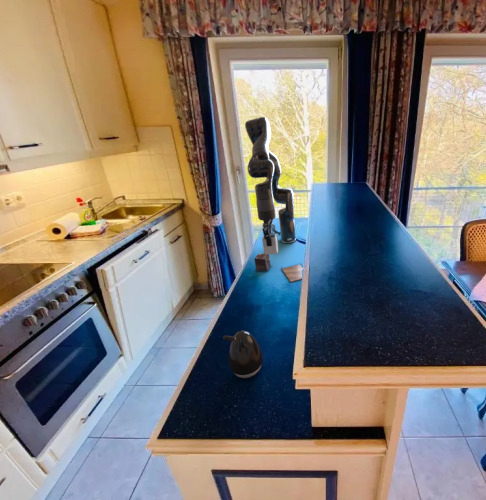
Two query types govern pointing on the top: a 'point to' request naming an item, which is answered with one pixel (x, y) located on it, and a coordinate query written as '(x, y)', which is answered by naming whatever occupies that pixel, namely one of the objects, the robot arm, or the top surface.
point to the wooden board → (293, 272)
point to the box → (262, 262)
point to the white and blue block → (273, 248)
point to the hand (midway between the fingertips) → (270, 243)
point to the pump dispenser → (244, 354)
